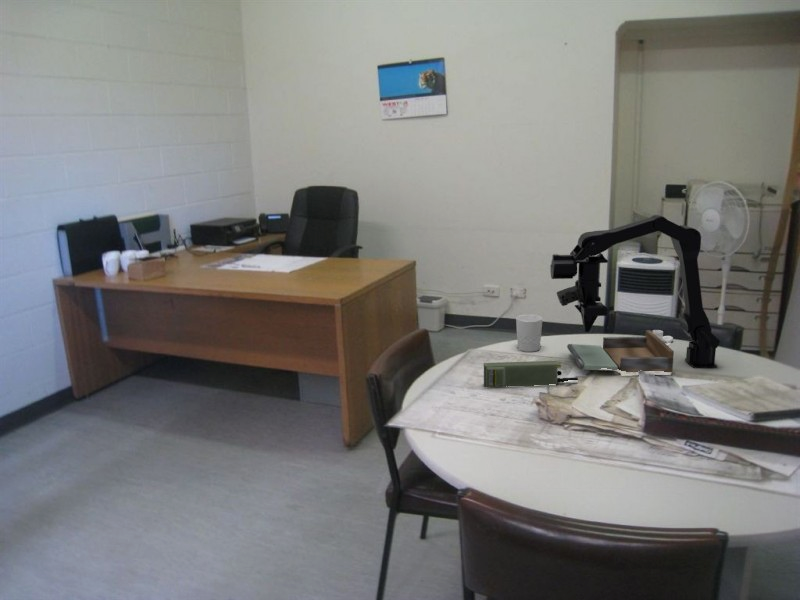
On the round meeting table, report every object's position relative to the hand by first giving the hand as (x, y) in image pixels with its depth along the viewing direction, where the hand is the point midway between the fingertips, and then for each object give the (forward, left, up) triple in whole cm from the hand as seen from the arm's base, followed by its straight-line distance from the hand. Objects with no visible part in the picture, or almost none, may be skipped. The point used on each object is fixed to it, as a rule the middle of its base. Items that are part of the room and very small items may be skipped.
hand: (586, 331), depth 177 cm
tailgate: (-6, 0, -8) cm, 10 cm away
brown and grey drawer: (-14, 0, -10) cm, 17 cm away
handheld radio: (+18, +15, -10) cm, 25 cm away
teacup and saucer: (-29, -16, -11) cm, 35 cm away
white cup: (+14, -15, -10) cm, 23 cm away
